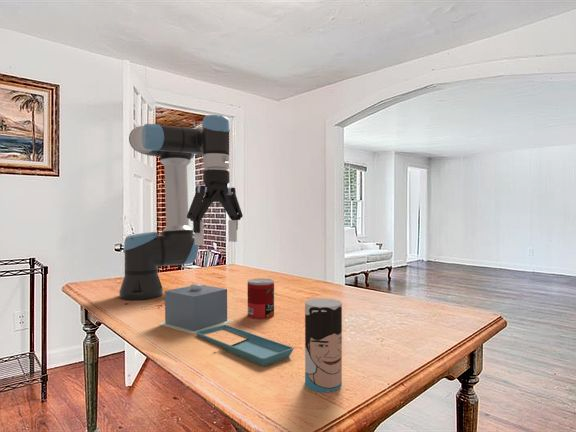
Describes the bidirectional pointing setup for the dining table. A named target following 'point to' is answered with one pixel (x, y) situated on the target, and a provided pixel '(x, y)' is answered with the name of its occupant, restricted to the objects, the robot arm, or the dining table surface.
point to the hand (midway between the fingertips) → (216, 243)
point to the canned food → (260, 298)
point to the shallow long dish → (251, 346)
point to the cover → (195, 306)
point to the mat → (197, 330)
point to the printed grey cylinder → (323, 344)
